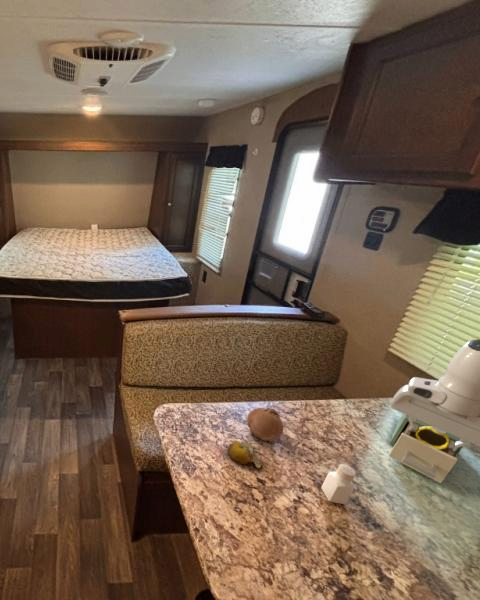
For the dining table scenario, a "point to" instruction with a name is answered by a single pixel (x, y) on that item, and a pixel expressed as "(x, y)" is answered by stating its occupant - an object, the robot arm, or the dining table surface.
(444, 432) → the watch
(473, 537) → the dining table surface
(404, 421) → the cabinet
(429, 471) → the drawer
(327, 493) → the salt shaker
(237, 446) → the fruit
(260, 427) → the onion
